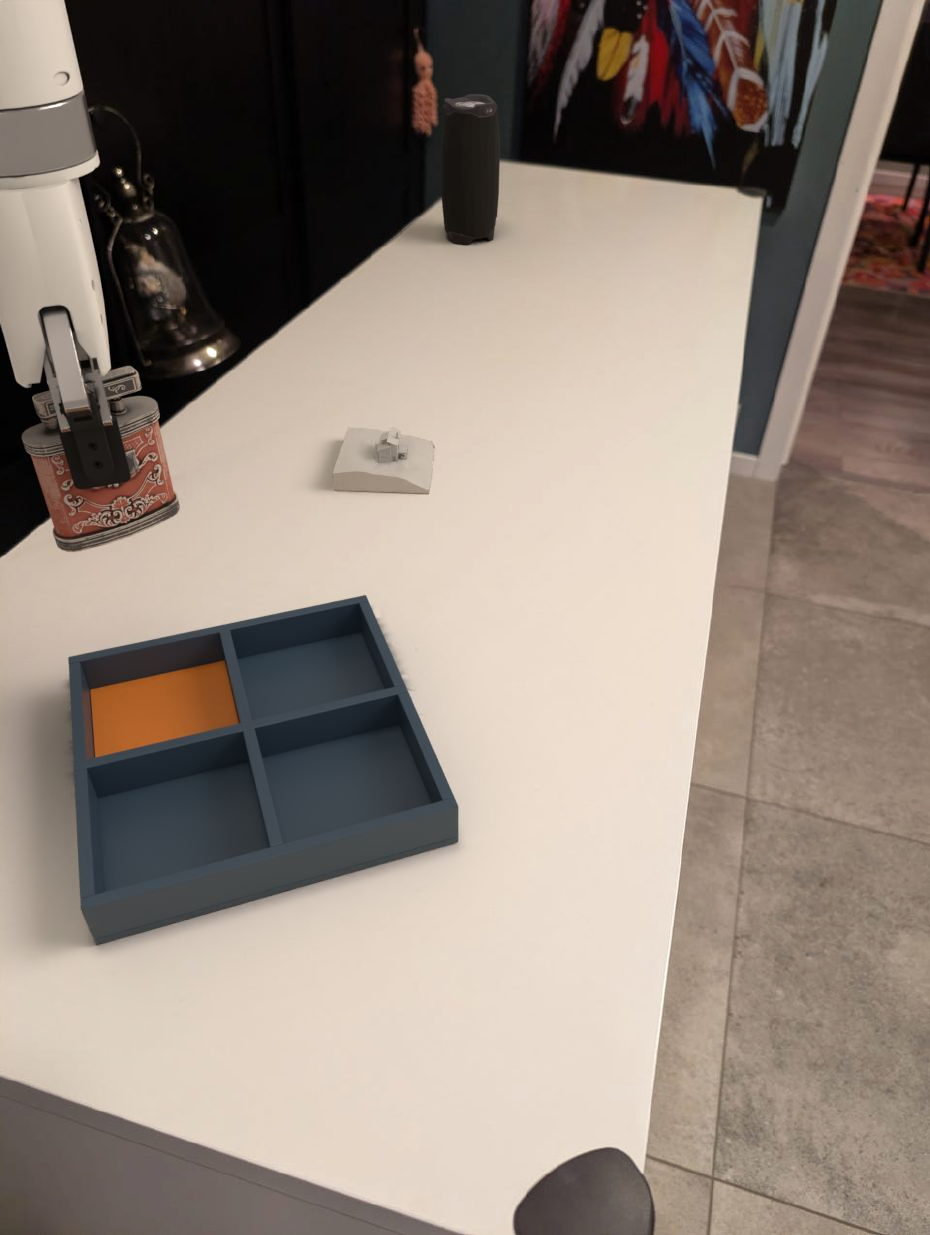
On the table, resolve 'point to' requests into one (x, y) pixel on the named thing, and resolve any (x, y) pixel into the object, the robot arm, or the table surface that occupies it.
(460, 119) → the portable speaker
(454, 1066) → the table surface
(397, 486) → the miniature house
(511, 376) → the table surface
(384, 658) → the tray
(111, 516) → the lighter
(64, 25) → the robot arm
